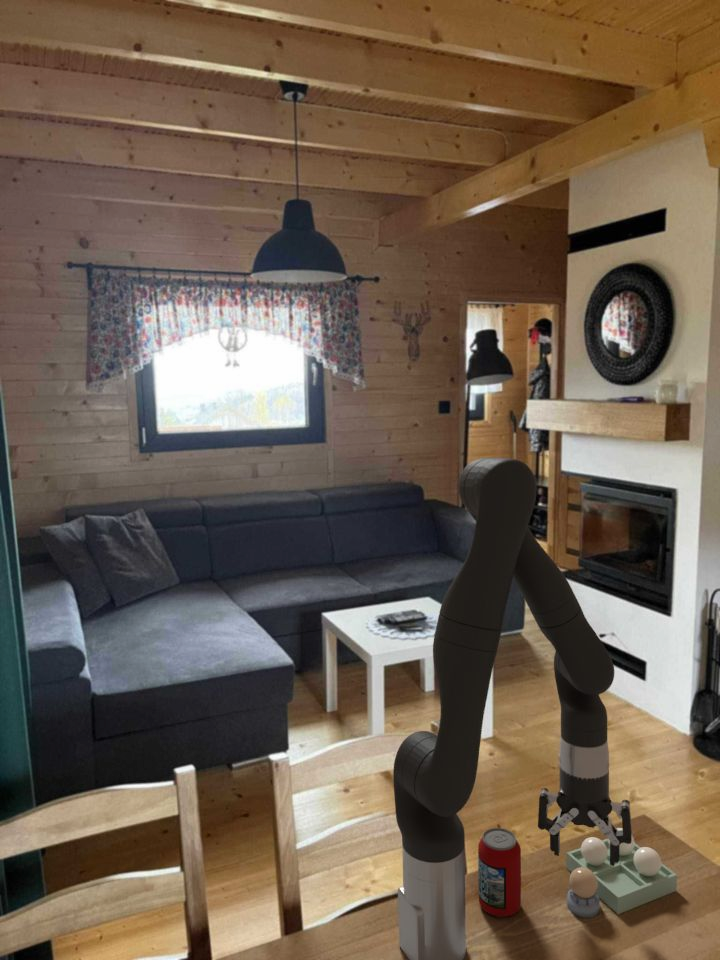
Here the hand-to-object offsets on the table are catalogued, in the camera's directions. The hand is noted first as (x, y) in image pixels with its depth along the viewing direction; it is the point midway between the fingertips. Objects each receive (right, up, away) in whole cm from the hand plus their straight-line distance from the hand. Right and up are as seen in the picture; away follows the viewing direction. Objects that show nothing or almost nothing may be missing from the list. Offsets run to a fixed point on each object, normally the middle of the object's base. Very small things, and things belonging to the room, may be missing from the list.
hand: (584, 857), depth 119 cm
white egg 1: (+4, -5, +8) cm, 10 cm away
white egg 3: (+12, -5, +5) cm, 14 cm away
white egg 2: (+10, -5, +10) cm, 15 cm away
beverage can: (-13, -9, +1) cm, 16 cm away
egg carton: (+8, -7, +7) cm, 13 cm away
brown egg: (0, -6, 0) cm, 6 cm away
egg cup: (0, -8, +1) cm, 8 cm away
